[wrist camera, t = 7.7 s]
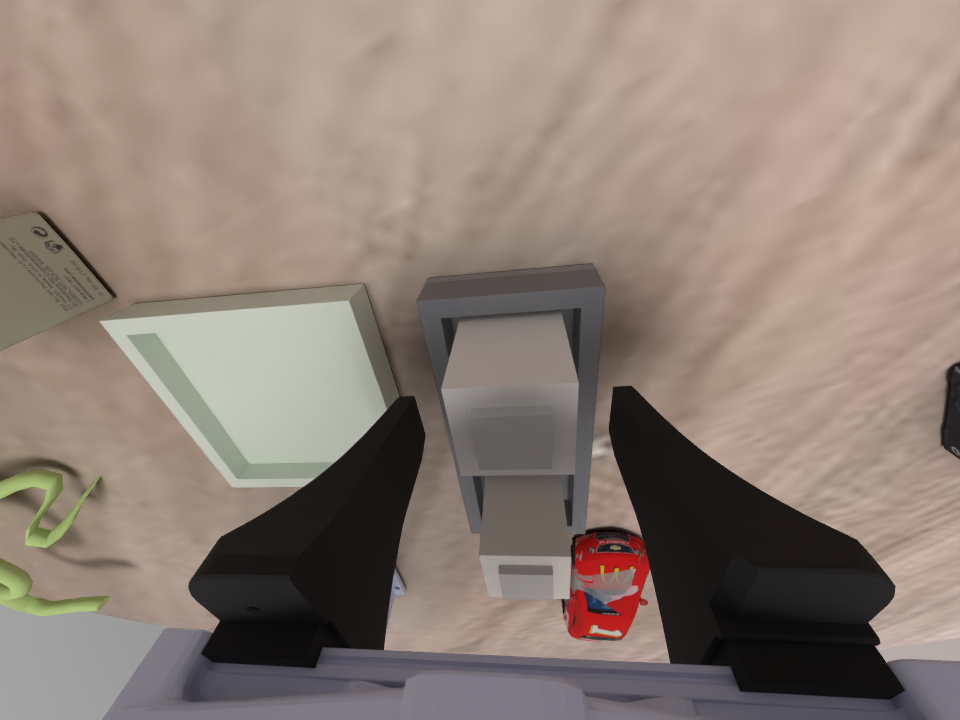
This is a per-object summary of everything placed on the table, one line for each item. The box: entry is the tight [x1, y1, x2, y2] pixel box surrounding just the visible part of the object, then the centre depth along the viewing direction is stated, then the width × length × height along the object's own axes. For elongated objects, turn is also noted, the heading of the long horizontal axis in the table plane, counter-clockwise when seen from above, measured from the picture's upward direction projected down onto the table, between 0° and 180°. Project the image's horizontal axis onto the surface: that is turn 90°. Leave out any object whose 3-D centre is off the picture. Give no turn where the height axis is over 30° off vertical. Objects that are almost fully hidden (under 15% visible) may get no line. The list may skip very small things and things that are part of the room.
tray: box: [99, 284, 400, 488], centre depth 19 cm, size 12×12×2 cm
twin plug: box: [479, 475, 571, 600], centre depth 19 cm, size 4×4×6 cm
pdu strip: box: [416, 264, 605, 534], centre depth 19 cm, size 16×7×3 cm, turn 7°
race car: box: [562, 532, 650, 642], centre depth 27 cm, size 13×5×4 cm, turn 1°
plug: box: [441, 310, 579, 476], centre depth 14 cm, size 4×4×6 cm
